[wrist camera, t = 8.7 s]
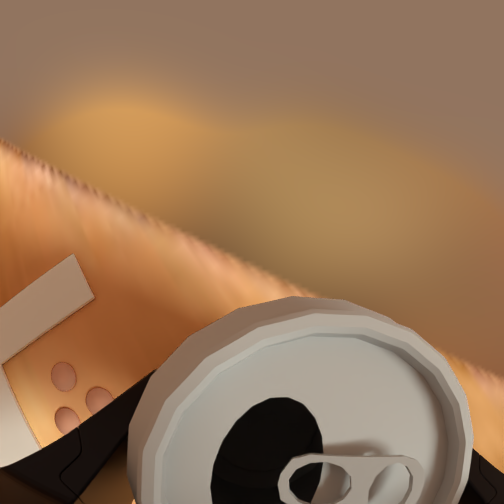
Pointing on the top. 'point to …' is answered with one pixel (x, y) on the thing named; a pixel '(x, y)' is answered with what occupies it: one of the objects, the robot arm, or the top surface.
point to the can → (301, 413)
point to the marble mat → (27, 331)
